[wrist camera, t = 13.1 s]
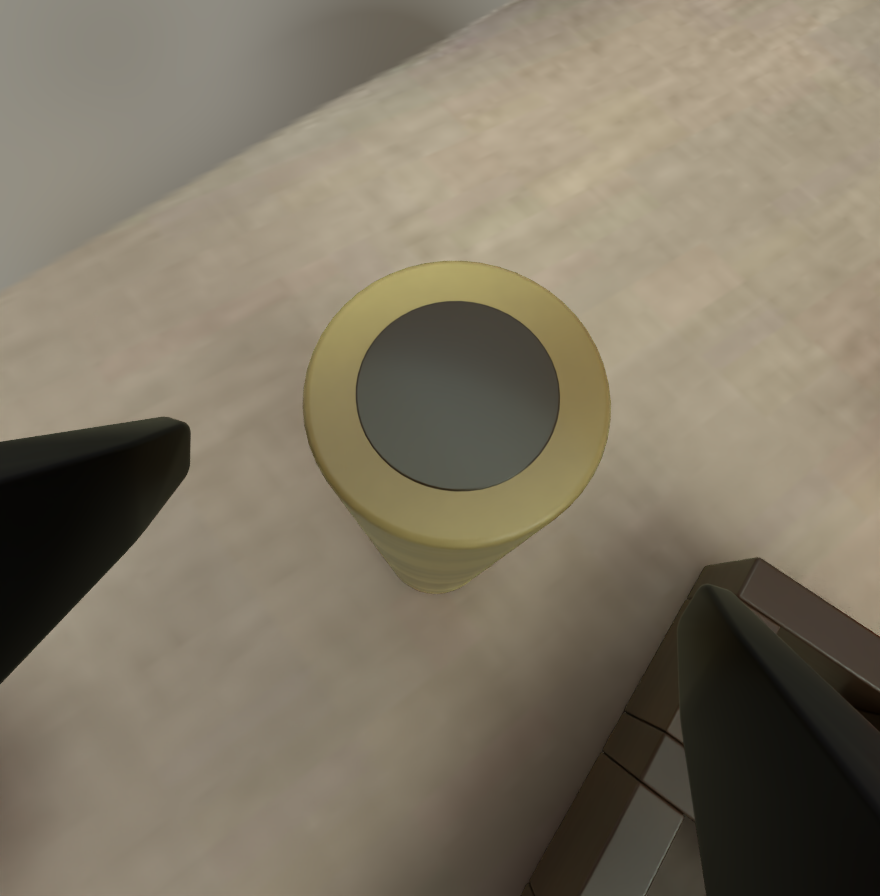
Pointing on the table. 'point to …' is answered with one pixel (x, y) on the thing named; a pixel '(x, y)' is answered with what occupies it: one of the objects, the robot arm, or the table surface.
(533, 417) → the tan hollow tube
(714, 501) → the table surface
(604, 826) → the rack
